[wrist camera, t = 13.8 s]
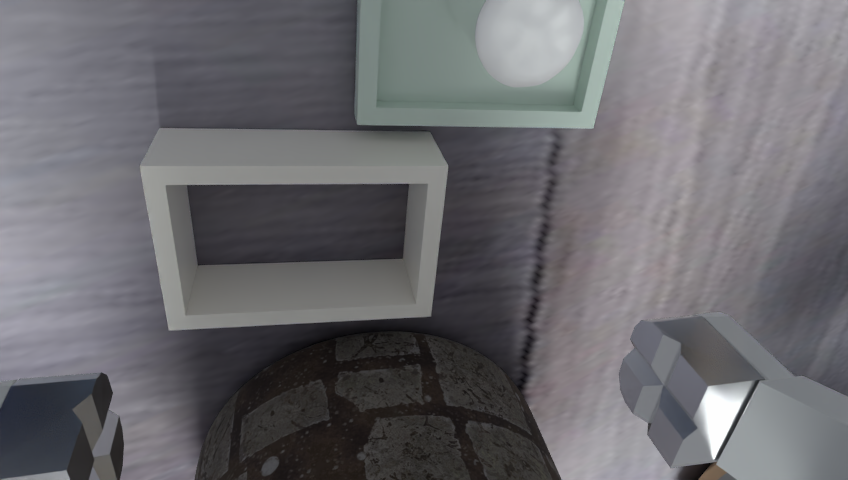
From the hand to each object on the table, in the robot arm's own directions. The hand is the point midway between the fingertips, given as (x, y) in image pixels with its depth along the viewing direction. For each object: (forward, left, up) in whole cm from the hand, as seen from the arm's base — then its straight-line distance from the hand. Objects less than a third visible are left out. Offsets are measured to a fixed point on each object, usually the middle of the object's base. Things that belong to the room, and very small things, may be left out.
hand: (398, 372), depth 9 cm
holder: (-1, -11, -26) cm, 28 cm away
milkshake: (+8, +2, -25) cm, 26 cm away
